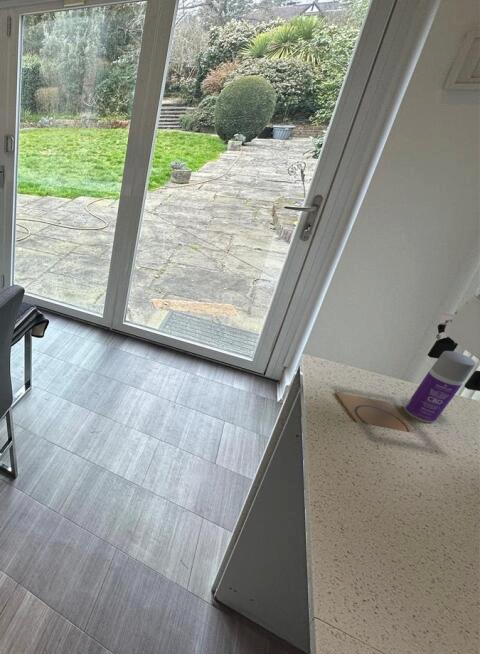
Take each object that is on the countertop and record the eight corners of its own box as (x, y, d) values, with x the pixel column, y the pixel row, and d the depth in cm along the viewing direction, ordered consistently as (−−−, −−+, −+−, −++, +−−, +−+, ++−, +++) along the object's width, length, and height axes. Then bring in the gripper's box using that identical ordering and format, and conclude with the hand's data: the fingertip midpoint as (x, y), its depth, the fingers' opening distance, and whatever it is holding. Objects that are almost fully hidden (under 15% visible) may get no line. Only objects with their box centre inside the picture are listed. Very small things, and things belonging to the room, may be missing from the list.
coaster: (388, 403, 89) (389, 401, 88) (434, 456, 77) (435, 454, 76) (334, 393, 91) (335, 391, 91) (371, 443, 79) (372, 441, 79)
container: (414, 420, 84) (454, 363, 77) (398, 404, 88) (435, 348, 82) (441, 425, 83) (484, 367, 77) (424, 408, 87) (464, 352, 81)
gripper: (586, 327, 64) (519, 408, 72) (493, 279, 79) (445, 350, 87) (525, 319, 66) (466, 399, 74) (445, 274, 81) (403, 344, 88)
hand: (455, 372), depth 80 cm, fingers open, 9 cm apart
